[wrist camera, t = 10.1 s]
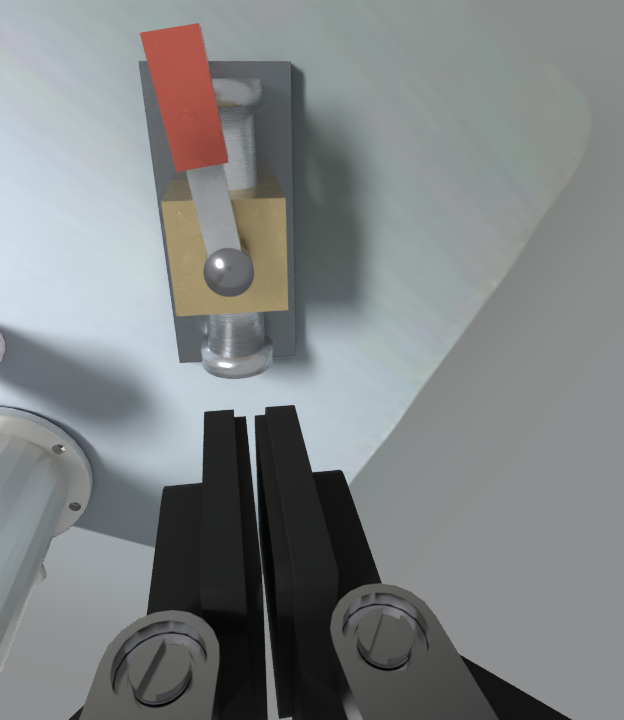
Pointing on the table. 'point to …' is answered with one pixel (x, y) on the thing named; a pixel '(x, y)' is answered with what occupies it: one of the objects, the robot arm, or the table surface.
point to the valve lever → (199, 149)
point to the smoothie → (2, 346)
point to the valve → (253, 219)
